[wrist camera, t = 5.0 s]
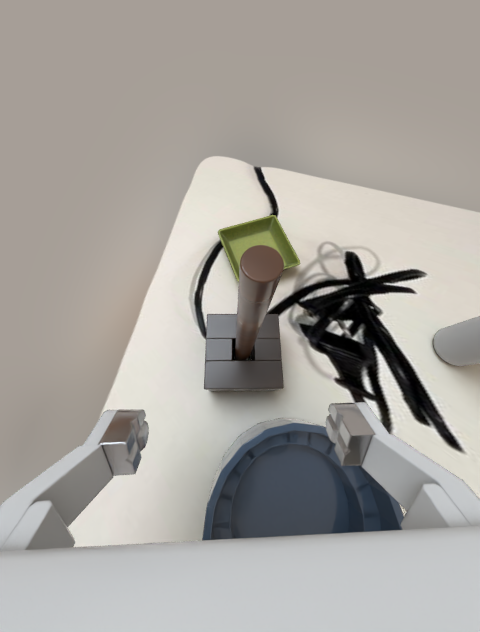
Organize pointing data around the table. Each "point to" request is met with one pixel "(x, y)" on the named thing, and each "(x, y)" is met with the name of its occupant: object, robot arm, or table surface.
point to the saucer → (256, 241)
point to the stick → (255, 294)
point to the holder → (242, 374)
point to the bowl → (293, 487)
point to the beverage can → (459, 343)
